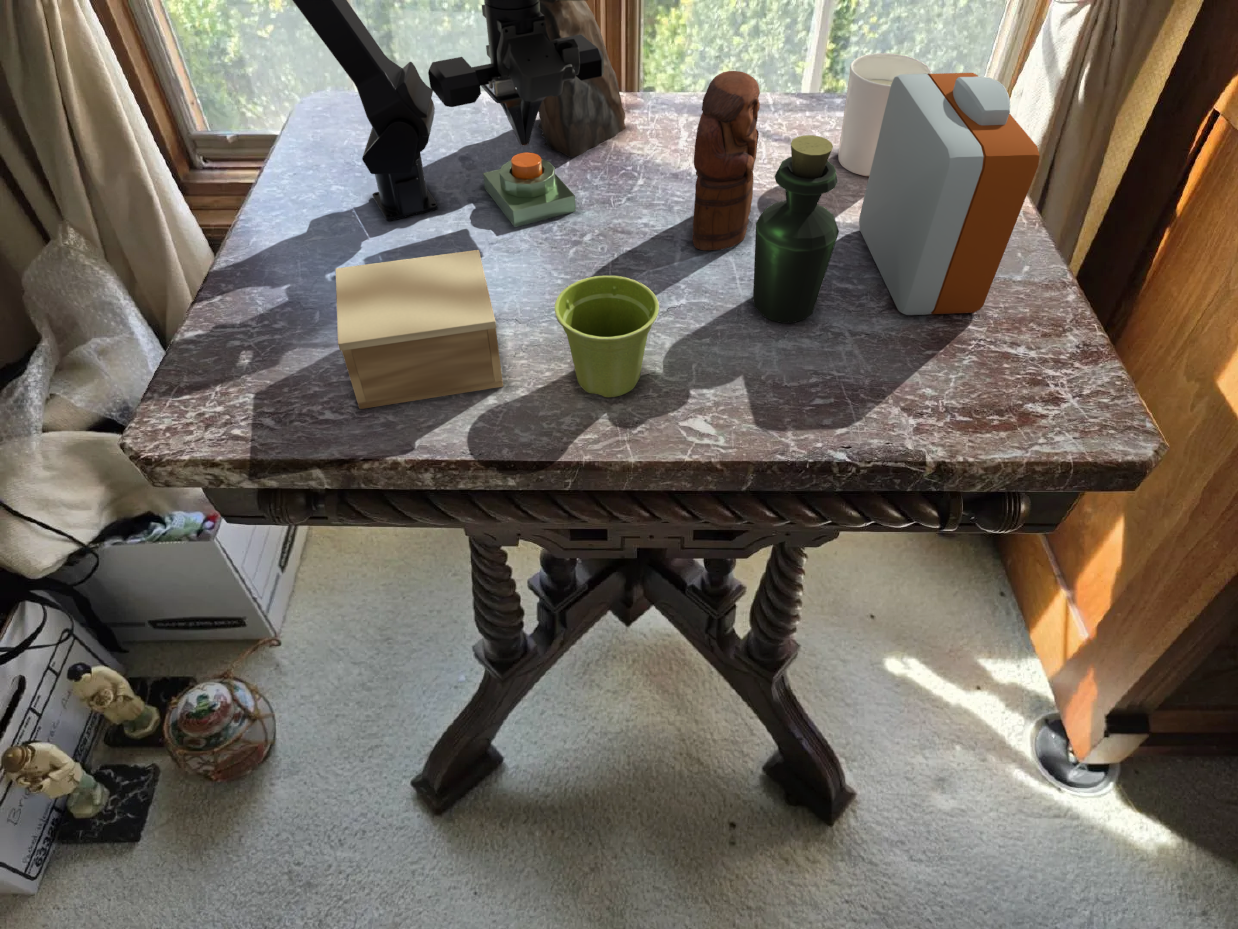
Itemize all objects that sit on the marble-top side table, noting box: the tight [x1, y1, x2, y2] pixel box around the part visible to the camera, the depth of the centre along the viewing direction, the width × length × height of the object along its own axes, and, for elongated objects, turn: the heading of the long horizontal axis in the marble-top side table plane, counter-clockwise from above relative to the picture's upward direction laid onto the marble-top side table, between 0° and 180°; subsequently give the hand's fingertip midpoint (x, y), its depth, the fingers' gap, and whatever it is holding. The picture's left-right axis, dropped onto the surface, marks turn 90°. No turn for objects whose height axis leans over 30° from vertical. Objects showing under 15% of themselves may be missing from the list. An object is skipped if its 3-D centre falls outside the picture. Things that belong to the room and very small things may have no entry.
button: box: [510, 151, 542, 179], centre depth 102 cm, size 4×4×2 cm
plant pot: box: [554, 275, 660, 398], centre depth 80 cm, size 9×9×9 cm
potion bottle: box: [752, 134, 840, 324], centre depth 84 cm, size 8×8×18 cm
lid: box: [335, 249, 497, 352], centre depth 78 cm, size 12×14×1 cm
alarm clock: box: [858, 72, 1041, 316], centre depth 88 cm, size 18×9×21 cm, turn 4°
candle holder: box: [837, 52, 933, 177], centre depth 108 cm, size 10×10×12 cm
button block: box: [482, 158, 576, 228], centre depth 104 cm, size 10×8×4 cm
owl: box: [537, 0, 627, 158], centre depth 110 cm, size 13×13×20 cm
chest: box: [341, 327, 504, 410], centre depth 81 cm, size 11×14×8 cm
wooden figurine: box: [692, 70, 761, 251], centre depth 94 cm, size 12×6×18 cm, turn 164°
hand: (523, 143), depth 99 cm, fingers closed
